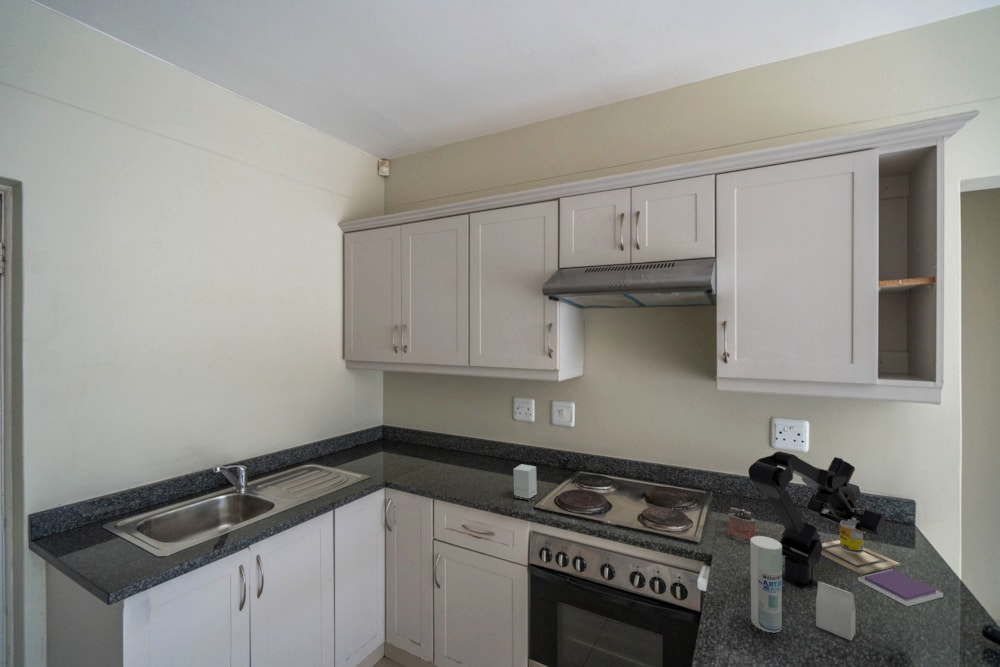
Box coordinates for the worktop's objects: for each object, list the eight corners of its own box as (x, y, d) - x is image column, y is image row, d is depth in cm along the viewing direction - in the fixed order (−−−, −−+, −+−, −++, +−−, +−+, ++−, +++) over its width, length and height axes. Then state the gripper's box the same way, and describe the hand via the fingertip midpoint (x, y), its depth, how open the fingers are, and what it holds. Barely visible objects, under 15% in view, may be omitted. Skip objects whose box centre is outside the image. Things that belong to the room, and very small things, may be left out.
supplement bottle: (837, 544, 141) (836, 512, 141) (858, 547, 139) (857, 514, 139) (844, 553, 136) (843, 519, 136) (866, 555, 134) (866, 521, 134)
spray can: (770, 615, 111) (770, 535, 111) (788, 634, 104) (788, 548, 104) (744, 616, 111) (744, 536, 110) (761, 635, 104) (760, 549, 104)
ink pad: (907, 606, 114) (907, 600, 114) (858, 580, 125) (858, 575, 125) (943, 597, 117) (943, 591, 117) (891, 572, 129) (891, 567, 129)
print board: (859, 574, 128) (860, 572, 128) (807, 548, 144) (807, 545, 144) (900, 565, 133) (900, 563, 133) (845, 540, 148) (845, 538, 148)
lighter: (756, 541, 148) (756, 511, 148) (753, 545, 146) (753, 514, 146) (730, 533, 154) (730, 504, 154) (727, 537, 151) (727, 507, 151)
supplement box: (537, 496, 190) (537, 466, 190) (528, 502, 184) (528, 471, 184) (522, 492, 194) (521, 463, 194) (513, 498, 188) (512, 468, 188)
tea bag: (851, 641, 102) (851, 597, 102) (815, 626, 107) (815, 584, 107) (855, 633, 104) (855, 590, 104) (820, 619, 110) (820, 578, 109)
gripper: (882, 486, 127) (901, 517, 132) (811, 467, 144) (831, 496, 149) (866, 519, 124) (887, 550, 129) (796, 496, 141) (817, 524, 146)
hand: (854, 527), depth 138 cm, fingers closed on supplement bottle, 5 cm apart
